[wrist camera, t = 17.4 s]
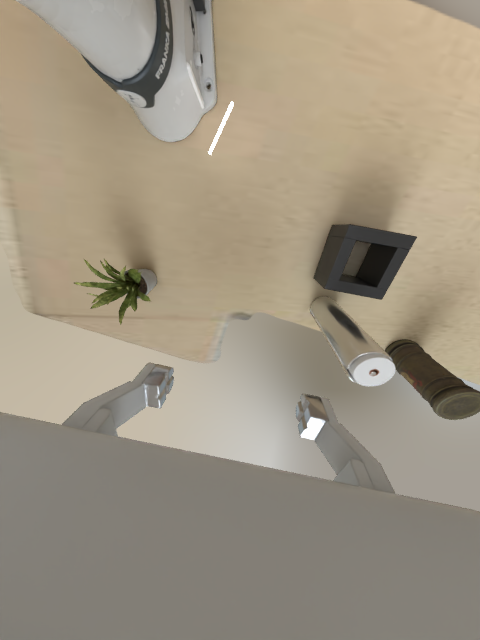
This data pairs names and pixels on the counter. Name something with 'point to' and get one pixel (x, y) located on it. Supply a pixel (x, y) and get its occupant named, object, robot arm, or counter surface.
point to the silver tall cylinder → (352, 344)
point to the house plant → (122, 286)
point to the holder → (375, 267)
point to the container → (434, 381)
